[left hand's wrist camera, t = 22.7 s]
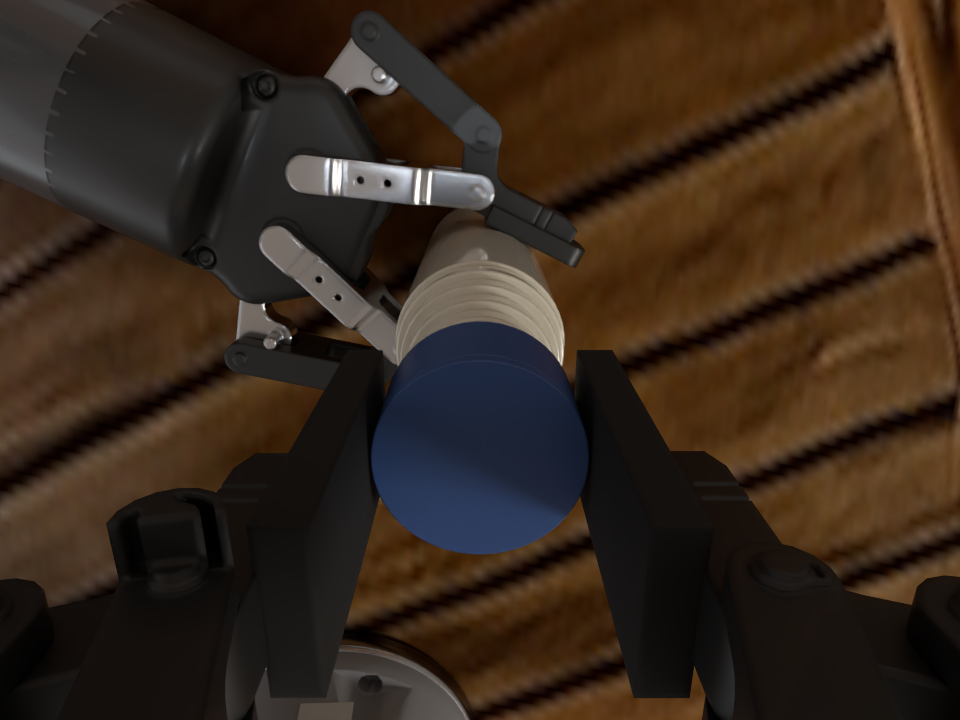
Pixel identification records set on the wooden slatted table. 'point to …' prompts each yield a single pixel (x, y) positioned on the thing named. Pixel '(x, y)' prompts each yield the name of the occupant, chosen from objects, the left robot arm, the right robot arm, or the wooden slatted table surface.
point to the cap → (479, 440)
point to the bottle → (478, 285)
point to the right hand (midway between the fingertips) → (541, 316)
